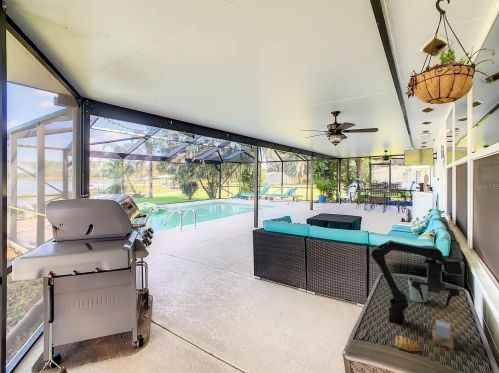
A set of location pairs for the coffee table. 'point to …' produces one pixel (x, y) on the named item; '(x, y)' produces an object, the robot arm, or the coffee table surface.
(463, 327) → the coffee table surface
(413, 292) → the drinking glass
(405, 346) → the pastry
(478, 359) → the coffee table surface
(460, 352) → the coffee table surface
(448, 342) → the walnut block
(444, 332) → the cube
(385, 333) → the coffee table surface
